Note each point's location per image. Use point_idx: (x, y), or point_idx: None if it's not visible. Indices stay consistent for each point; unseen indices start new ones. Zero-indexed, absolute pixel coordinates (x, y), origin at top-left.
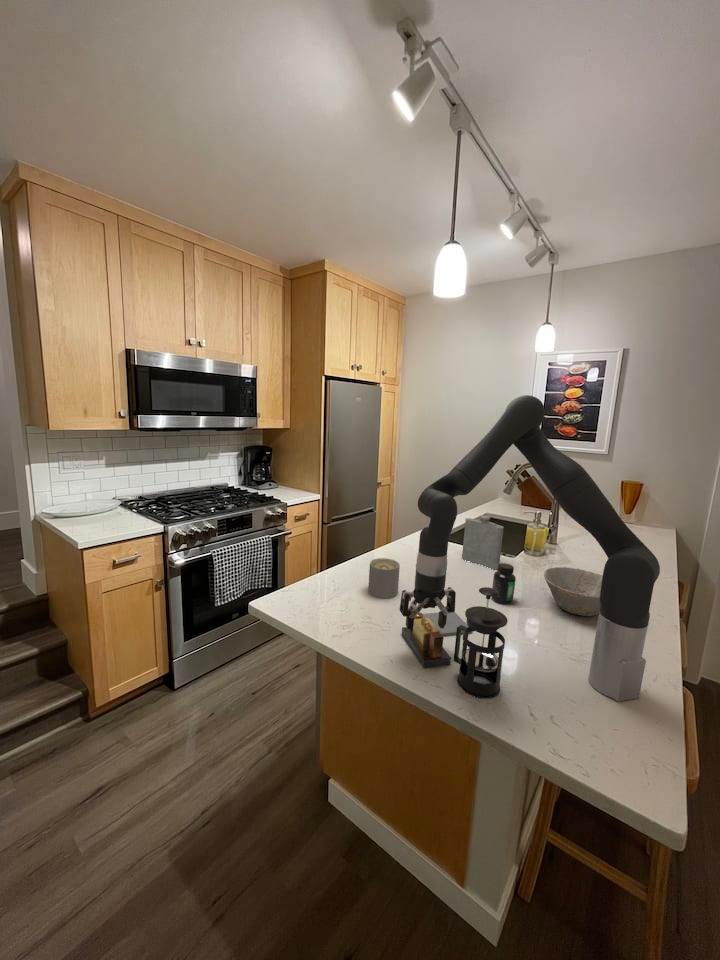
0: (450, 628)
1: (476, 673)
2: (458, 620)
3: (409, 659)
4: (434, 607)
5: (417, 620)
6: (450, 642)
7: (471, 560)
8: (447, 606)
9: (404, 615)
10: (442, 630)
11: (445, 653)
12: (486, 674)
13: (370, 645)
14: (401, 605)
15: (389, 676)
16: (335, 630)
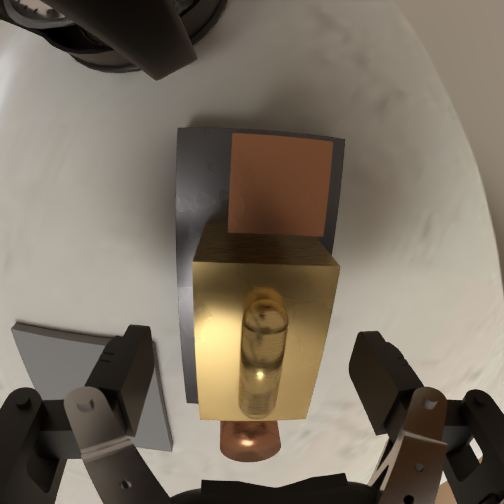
0: (82, 365)
1: (105, 46)
2: (47, 390)
3: (359, 219)
4: (208, 483)
5: (287, 409)
6: (106, 294)
7: None
8: (58, 452)
9: (479, 394)
10: None
11: (189, 169)
12: (73, 33)
13: (435, 331)
14: (477, 465)
15: (466, 147)
16: (459, 396)
